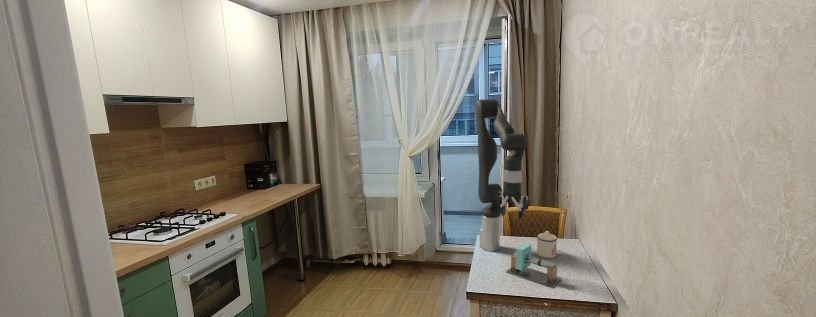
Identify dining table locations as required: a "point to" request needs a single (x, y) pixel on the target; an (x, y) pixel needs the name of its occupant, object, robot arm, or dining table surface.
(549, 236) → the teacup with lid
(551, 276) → the pipe rig
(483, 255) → the dining table surface
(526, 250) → the collar
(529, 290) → the dining table surface
